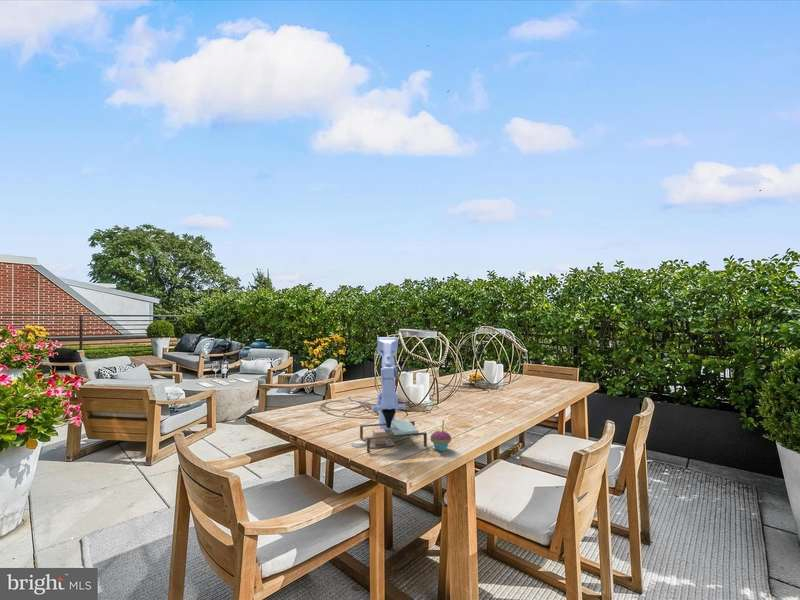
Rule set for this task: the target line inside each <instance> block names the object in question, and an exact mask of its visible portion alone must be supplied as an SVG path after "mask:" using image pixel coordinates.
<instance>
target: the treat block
mask: <svg viewBox="0 0 800 600" xmlns="http://www.w3.org/2000/svg"><path fill="white" fill-rule="evenodd" d="M386 433H387V432H386V430H384V429H380V428H377V429H375V428H374V429H372V437H376V436H387V435H386ZM373 442H374V444H375V445H380V444H386V438H380V439H373Z"/></svg>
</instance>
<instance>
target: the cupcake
mask: <svg viewBox="0 0 800 600" xmlns="http://www.w3.org/2000/svg"><path fill="white" fill-rule="evenodd" d="M441 425H442V426H441V431H440V430H437V431H435V432H433V433H432V434H431V435H430V442H432V444H433V447H434V449H435V450H436V451H438V452H445V451H447V449H448V446H449V444H450V443H451V441H452V435H450V433H448V432H446V431H444V428H445V418H443V420H442V424H441Z"/></svg>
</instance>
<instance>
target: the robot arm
mask: <svg viewBox="0 0 800 600" xmlns="http://www.w3.org/2000/svg"><path fill="white" fill-rule="evenodd" d="M398 341H399V340H398V337H397V336H395V337H393V336H388V337H387V336H378V337H377V343H376V345H377V348H376V349H377V354H378V356H380V357H381V358H382V359H381V368H380V378H381V379H380V380H381V391H380V392H378V394H377V398H376V400H377V401H376V402H377V403H376V405H371V406H370V408H371V412H379V413H378V424H381V423H386V425H382V426H376V428H377V429H384V430H385V432H386V431H391V429H390V428H391V423H392V421H393V420H396V413H397V412H396V411H398V410H406V409H407V408H406V404H405V403H399V398H398V393H397V392H396V381H397V367H396V362H395V359H396V358H395V357H394V356H396V355H397V353H398V344H399V343H398Z"/></svg>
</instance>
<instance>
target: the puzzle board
mask: <svg viewBox="0 0 800 600" xmlns="http://www.w3.org/2000/svg"><path fill="white" fill-rule="evenodd" d="M408 421H409V422H410V423H411V424H412V425H413V426H414V427H416V426H415V420H408ZM382 425H386V423H381V424H379V423H370V424H360V425H359V438H360V439H363V438H364V437H363V435H364V434H363V433H364V430H363V429H364V428H366V427H367V428H368V427H377V426H382ZM427 434H428V433H427V432H425V431H424V432H419V433H413V434H402V435H395V434H391V435H389V434H388V435H386V436H376V437H373V436H367V437H365V438H364V441H362V440H360V441H354V442H352V443H351V444H350V446H351V447H353V448H364V447H366V452H371V450H374V449H375V450H376V449H385V448H386V449H387V448H394V447H395V446H396V445H395V443H394V442H393V440H392V439H391V438H399V437H400V438H401V437H412V436H413V437H414V436H423V446H424V447H427V446H428V445H427V444H428V443H427V442H428V440H427V439H428V437H427ZM380 438H386V444H380V445H375V444H374V442H373V439H380Z"/></svg>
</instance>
